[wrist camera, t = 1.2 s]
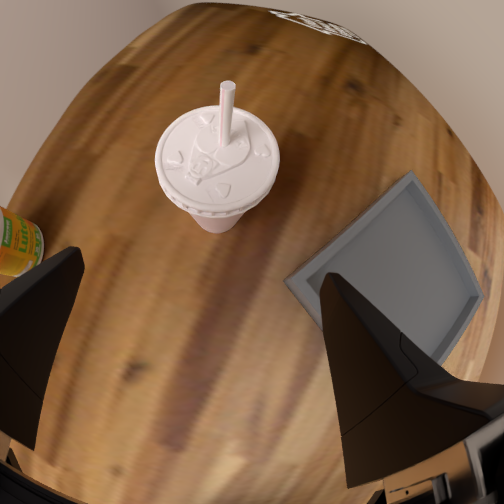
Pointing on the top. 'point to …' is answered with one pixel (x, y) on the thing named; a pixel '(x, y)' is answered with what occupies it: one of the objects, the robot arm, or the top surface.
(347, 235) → the tray
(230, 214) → the smoothie
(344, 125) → the top surface
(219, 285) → the top surface
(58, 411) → the top surface
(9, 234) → the supplement bottle
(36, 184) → the top surface
